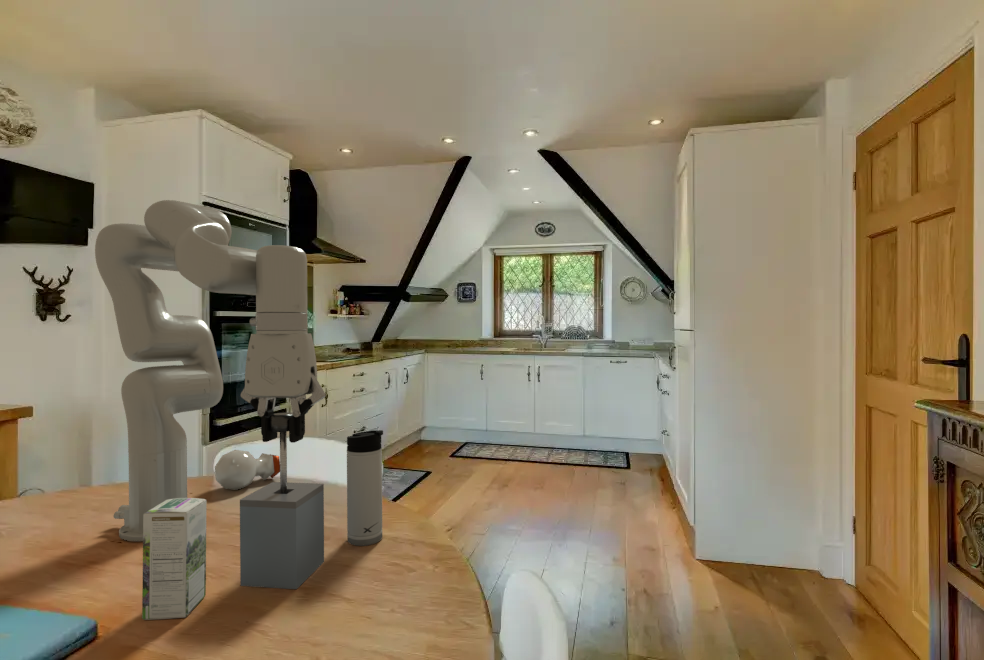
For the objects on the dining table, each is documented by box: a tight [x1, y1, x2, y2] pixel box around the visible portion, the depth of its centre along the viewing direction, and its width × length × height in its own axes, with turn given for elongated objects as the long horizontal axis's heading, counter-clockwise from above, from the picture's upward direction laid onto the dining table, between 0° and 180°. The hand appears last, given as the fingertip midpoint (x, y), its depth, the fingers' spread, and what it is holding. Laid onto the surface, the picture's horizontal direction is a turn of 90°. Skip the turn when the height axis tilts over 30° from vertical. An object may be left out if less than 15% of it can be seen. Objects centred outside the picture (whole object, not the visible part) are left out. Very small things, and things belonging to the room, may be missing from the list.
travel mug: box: [346, 429, 384, 547], centre depth 94 cm, size 6×7×20 cm
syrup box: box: [141, 497, 207, 621], centre depth 71 cm, size 6×6×14 cm
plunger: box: [270, 412, 293, 494], centre depth 81 cm, size 6×6×15 cm
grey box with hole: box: [239, 481, 325, 590], centre depth 81 cm, size 9×9×13 cm
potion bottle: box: [214, 449, 280, 491], centre depth 127 cm, size 9×10×15 cm
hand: (283, 439), depth 81 cm, fingers closed on plunger, 3 cm apart
